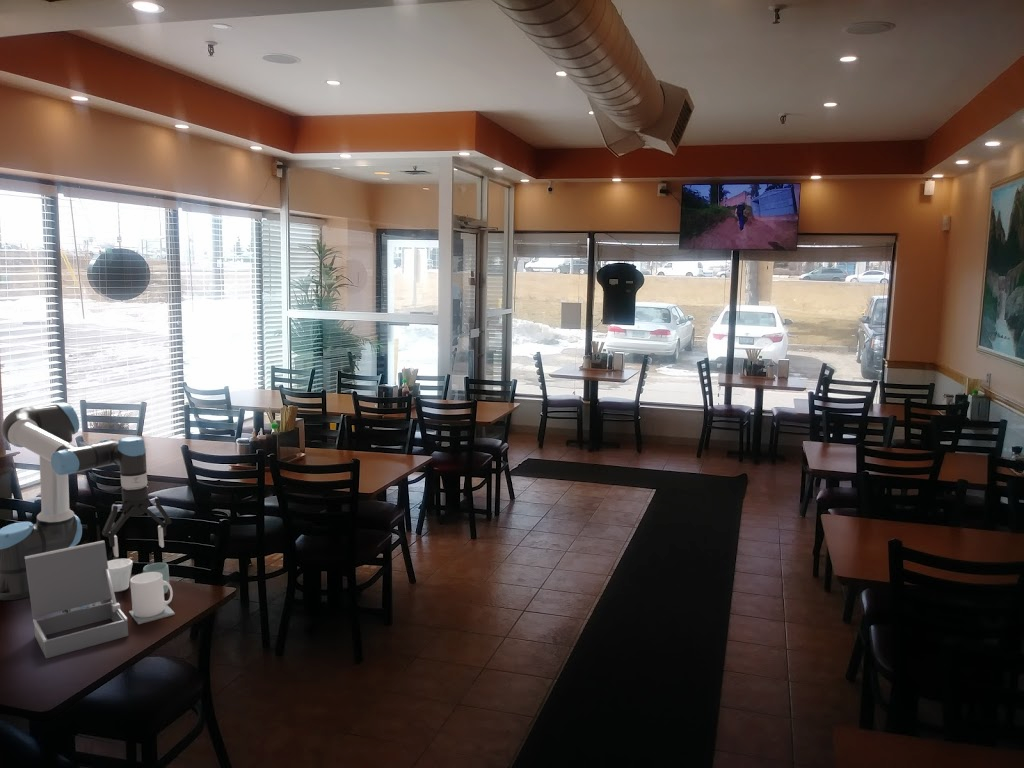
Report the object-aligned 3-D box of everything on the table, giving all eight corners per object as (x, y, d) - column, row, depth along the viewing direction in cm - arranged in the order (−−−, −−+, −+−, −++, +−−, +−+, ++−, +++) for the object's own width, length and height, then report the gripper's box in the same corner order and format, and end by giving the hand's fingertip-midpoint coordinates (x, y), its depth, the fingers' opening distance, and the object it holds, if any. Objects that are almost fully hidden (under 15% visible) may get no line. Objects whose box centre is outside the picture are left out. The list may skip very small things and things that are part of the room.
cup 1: (114, 582, 287) (112, 557, 286) (140, 584, 286) (138, 558, 285) (96, 594, 278) (94, 568, 276) (123, 595, 276) (121, 569, 275)
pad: (129, 612, 262) (129, 611, 262) (164, 603, 269) (164, 602, 269) (138, 624, 254) (138, 622, 254) (174, 614, 260) (174, 612, 260)
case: (33, 635, 247) (28, 585, 245) (114, 614, 261) (109, 567, 259) (45, 658, 232) (40, 606, 230) (130, 635, 246) (125, 585, 244)
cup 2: (149, 601, 271) (147, 572, 270) (142, 594, 277) (139, 566, 275) (173, 594, 276) (171, 566, 275) (165, 588, 282) (163, 560, 280)
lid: (33, 618, 245) (32, 617, 246) (112, 598, 259) (111, 597, 260) (25, 557, 245) (24, 556, 246) (104, 540, 259) (103, 540, 260)
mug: (132, 609, 263) (129, 575, 261) (172, 602, 268) (169, 568, 267) (133, 620, 255) (130, 585, 253) (174, 613, 260) (171, 578, 258)
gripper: (94, 496, 244) (99, 563, 248) (179, 482, 260) (183, 545, 263) (88, 490, 250) (93, 556, 253) (171, 477, 266) (175, 539, 269)
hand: (139, 551), depth 258 cm, fingers open, 13 cm apart
